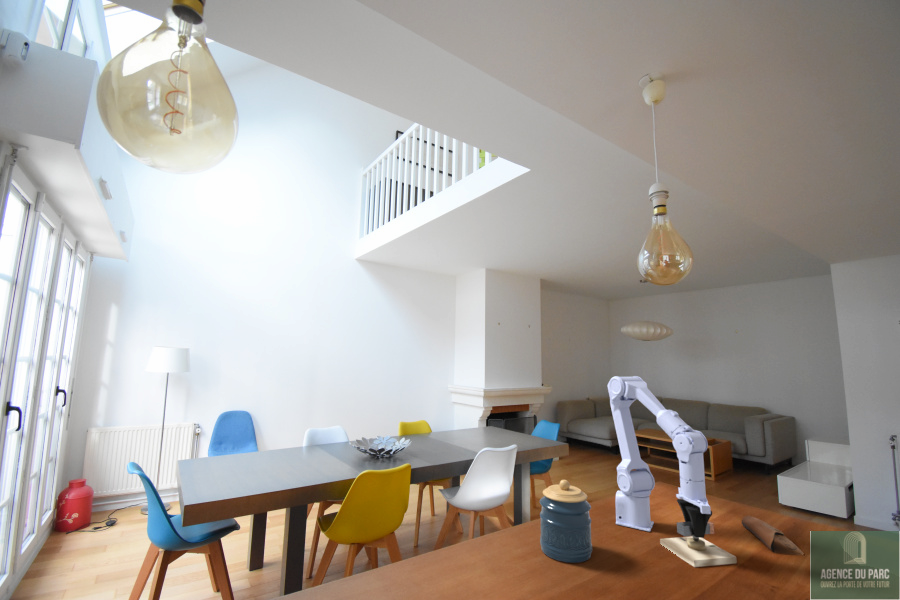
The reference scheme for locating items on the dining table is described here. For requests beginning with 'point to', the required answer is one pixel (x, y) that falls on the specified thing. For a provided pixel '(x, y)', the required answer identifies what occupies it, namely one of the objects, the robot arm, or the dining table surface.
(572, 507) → the canister
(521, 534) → the dining table surface
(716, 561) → the base plate
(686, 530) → the dark rectangular block
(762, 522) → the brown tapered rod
